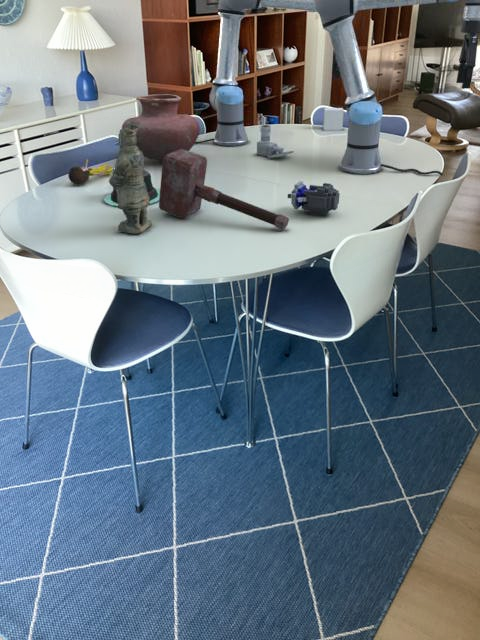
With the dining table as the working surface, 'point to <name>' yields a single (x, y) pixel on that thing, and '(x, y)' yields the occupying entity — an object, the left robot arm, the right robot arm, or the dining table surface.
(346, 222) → the dining table surface
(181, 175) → the sledgehammer
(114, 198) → the dark dome on dish
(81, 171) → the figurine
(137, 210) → the statue
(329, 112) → the brick
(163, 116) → the clay pot
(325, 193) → the toy
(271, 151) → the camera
